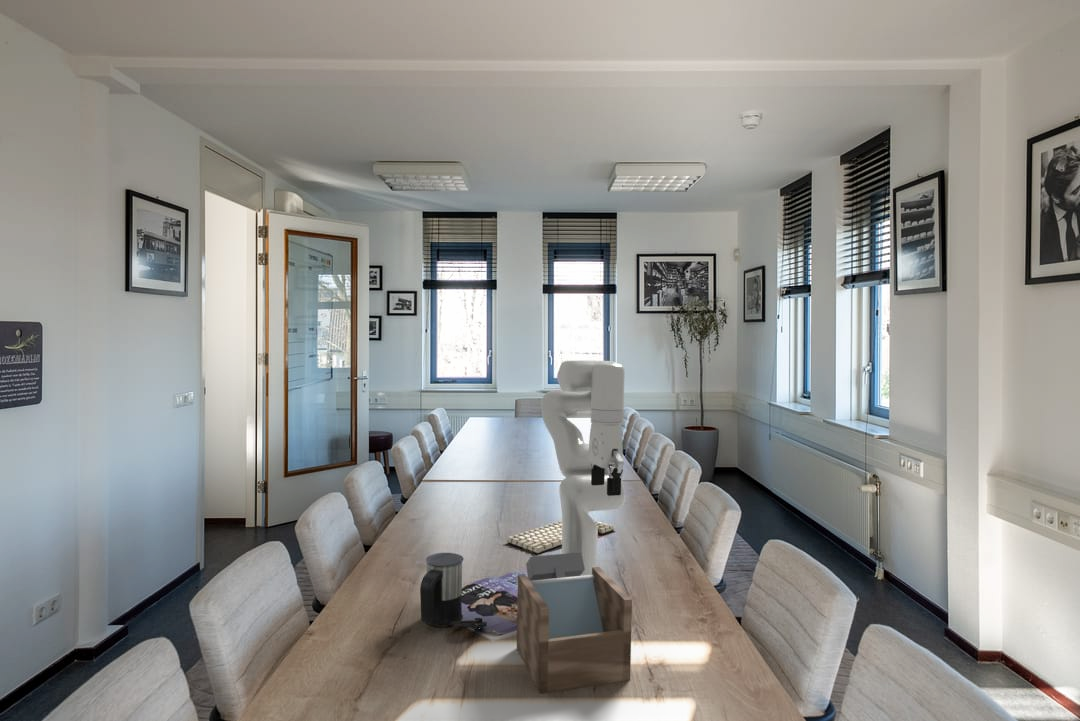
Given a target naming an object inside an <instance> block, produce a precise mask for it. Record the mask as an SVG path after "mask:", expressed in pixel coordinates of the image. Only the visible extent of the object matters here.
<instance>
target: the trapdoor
mask: <svg viewBox="0 0 1080 721" xmlns="http://www.w3.org/2000/svg"><path fill="white" fill-rule="evenodd" d="M525 565H526V573H527V578H528V579H529V580H530V582H531V583H532V585H533V586H534V588H535V589H536V591H537V592H538V593H539V595H540V596H541V598H542V599H543V601H544V602H545V604H546V605H547V606H548V608H549V637H548V639H553V638H561V637H569V636H576V635H584V634H592V633H600V632H603V628H602V623H601V618H600V613H599V608H598V603H597V598H596V593H595V588H594V584H593V580H594V575H584V576H580V575H581V573H582V572H583V571H584V570H585V568H584V563H583V558H582V553H581V552H579V553H567V554H562V553H556V554H547V555H535V556H534V555H533V556H529V559H528V560H527V562H526V564H525Z"/></svg>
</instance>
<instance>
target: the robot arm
mask: <svg viewBox="0 0 1080 721" xmlns="http://www.w3.org/2000/svg"><path fill="white" fill-rule="evenodd" d="M556 378H557V383H558V385H559V387H560V389H553V390H550V391H548V392H546V393H545V394H544V395H542V398H541V401H540V402H541V404H540V405H541V406H540V407H541V408H540V409H541V416H542V420H543V424H544V425H545V427H546V429H547V432H548V434H549V435H550V437H551V439H552V442H553V445H554V449H555V454H556V459H557V464H558V468H559V470H560V473H561V475H563V476H564V477H565V478H563V479H562V480H561V482H560V484H559V490H558V491H559V492H558V493H559V498H560V508H561V521H562V549H561V554H567V553H579V552H581V553H582V558H583V563H584V568H585V570H584V571H583V572H582V573H581V575H580V576H584V575H592V567H598V539H599V538H598V529H597V525H596V523H595V522H594V521H595V520H594V519H593V517H591V516H590V514H589V513H591V512H599V511H601V512H603V511H616V510H619V509H620V508H622V507H623V506H624V504H625V502H626V488H625V486H624V481H623V472H624V470H623V469H624V465H625V462H624V459H623V452H624V451H623V449H624V448H623V431H622V430H623V428H622V425H623V424H624V416H625V415H624V414H625V413H624V412H625V410H624V408H625V406H624V404H625V402H624V401H625V367H624V365H623V364H620V363H617V362H615V361H613V360H565V361H562V363H561V364H560V366H559V369H558V371H557V376H556ZM582 418H583V419H590V423H591V425H590V432H589V438H588V439H589V440H588V442H589V443H585V441H584V437H583V434H582V432H581V430H580V429H579V428H578V427H577V426H576V425H575V424H574V423H573V422H571V421H570V420H569V419H582ZM597 538H598V539H597Z"/></svg>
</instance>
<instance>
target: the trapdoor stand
mask: <svg viewBox="0 0 1080 721" xmlns="http://www.w3.org/2000/svg"><path fill="white" fill-rule="evenodd" d="M592 575H594V580H593V584H594V588H595V593H596V598H597V603H598V608H599V613H600V618H601V623H602V628H603V632H600V633H592V634H584V635H576V636H569V637H561V638H553V639H548V637H549V608H548V606H547V605H546V604H545V602H544V601H543V599H542V598H541V596H540V595H539V593H538V592H537V591H536V589H535V588H534V586H533V585H532V583H531V582H530V580H529V579H528V575H526V573H519V574H517V600H516V601H517V602H516V603H517V604H516V606H517V608H516V610H517V611H516V613H517V614H516V650H517V652H518V653H519V656H520V657H521V659H522V662H523V663H524V665H525V667H526V670H527V672H528V674H529V675H530V678H531V680H532V681H533V683H534V686H535V687H536V689H537V692H538V694H546V693H551V692H559V691H564V690H572V689H578V688H584V687H585V688H586V687H591V686H597V685H604V684H611V683H618V682H619V683H620V682H625V681H630V680H631V659H632V658H631V657H632V655H631V653H632V623H633V622H632V617H633V615H632V614H633V599H632V598H631V597H630V596H629V595H628V594H627V592H625V591H624V590H623V589H622V587H620V586H619V585H618V584H617V583H616V582H615V581H614V580H613V579H612V578H611V577H610V576H609V575H608V574H607V573H606V572H605V571H604V570H603V569H601V567H599V566H597V567H592Z"/></svg>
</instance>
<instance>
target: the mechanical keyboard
mask: <svg viewBox="0 0 1080 721" xmlns="http://www.w3.org/2000/svg"><path fill="white" fill-rule="evenodd" d="M594 522H595V523H596V525H597V529H598V538H597V539H601V538H602V537H606V536H609V535H611V534H614V533H616V530H615V528H614V526H613V524H608V523H603V522H601V521H600V522H599V521H597V520H594ZM506 542H507V543H506V545H507V546H510V547H513V548H515V549H517V550H520V551H521V550H522V551H524V552H529V553H531V554H535V555H540V554H546V553H551V552H555V551H559V550H562V520H558V521H555V522H551V523H548V524H545V525H543V526H538V527H536V528H533V529H529V530H528V531H527V530H526V531H523V532H519V533H518V534H513V535H510V536H507V540H506Z"/></svg>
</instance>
